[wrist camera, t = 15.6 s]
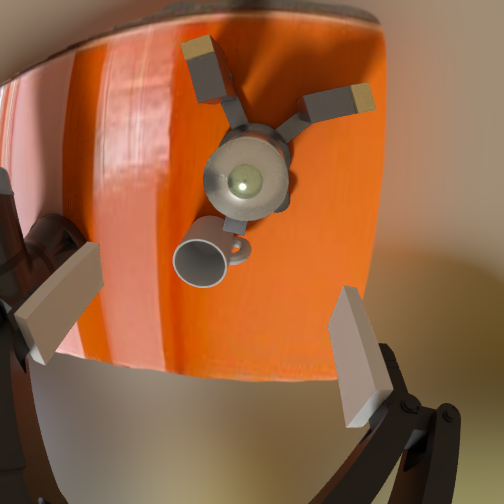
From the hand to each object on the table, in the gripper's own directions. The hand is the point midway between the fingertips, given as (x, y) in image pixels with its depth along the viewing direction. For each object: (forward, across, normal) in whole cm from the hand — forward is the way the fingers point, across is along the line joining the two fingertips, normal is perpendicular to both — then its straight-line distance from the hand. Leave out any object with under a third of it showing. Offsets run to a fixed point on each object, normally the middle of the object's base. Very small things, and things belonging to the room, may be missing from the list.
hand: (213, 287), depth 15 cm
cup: (+29, -3, -11) cm, 31 cm away
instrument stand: (+29, 0, +3) cm, 29 cm away
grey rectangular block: (+29, -6, +13) cm, 32 cm away
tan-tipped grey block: (+29, +8, +11) cm, 32 cm away
